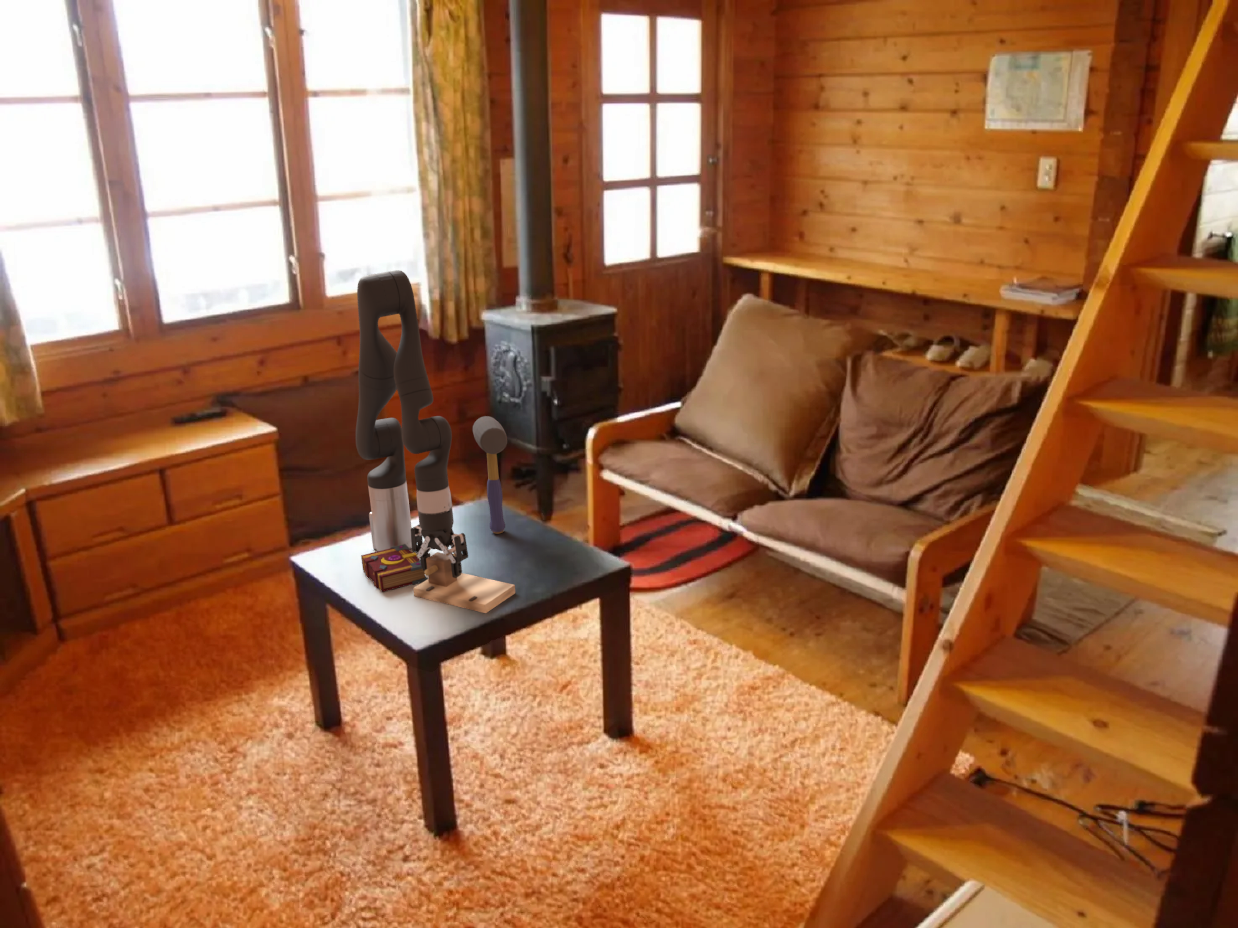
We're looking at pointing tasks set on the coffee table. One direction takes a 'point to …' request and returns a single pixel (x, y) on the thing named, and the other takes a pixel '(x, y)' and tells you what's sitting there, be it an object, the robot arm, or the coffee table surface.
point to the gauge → (439, 570)
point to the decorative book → (393, 568)
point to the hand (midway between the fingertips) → (442, 573)
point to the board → (467, 592)
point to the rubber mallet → (492, 465)
